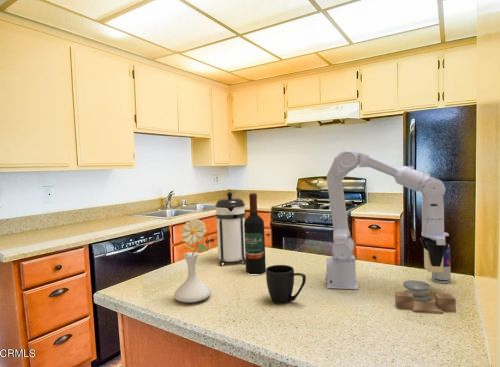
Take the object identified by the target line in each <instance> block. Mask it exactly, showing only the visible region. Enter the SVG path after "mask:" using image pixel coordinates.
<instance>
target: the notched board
mask: <svg viewBox="0 0 500 367" xmlns="http://www.w3.org/2000/svg"><path fill="white" fill-rule="evenodd" d="M394 296H395V297H394V301H395V303H394V304H395V307H396V309H398V310H411V311H412V312H413V313H425V314H426V313H427V314H440V315H441V314H443V315H444V312H448V313H456V312H457V310H456V309H457V299H456V297H455V296H454V295H453V294H450V293H449V294H448V293H447V294H446V293H434V301H414V297H413V295H412V294H411V293H409V292H404V291H394Z"/></svg>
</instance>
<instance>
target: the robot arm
mask: <svg viewBox="0 0 500 367" xmlns="http://www.w3.org/2000/svg"><path fill="white" fill-rule="evenodd" d="M357 167H358V168H371V169H374V170H376V171H378V172H381V173H383V174H386V175H387V176H391V177H393V178H394V180H395V183H396V184H398V185H400V186H403V187H404V188H407V189H410V190H412V191H415V192H421V194H422V195H421V199H422V200H421V232H420V233H421V236H422V237H419V241H420V243H421V244H422V245H421V246H422V247H423V248H422V249H424V248H428V251H429V254H430V260H431V264H432V266H437V267H440V266H441V262H442V258H443V255H444V252H445V250H446V249H447V247H448V245H449V243H447V242H446V237H449V235H450V234H449V233H448V232H445V208H444V207H445V203H444V195H445V193H446V190H447V187H446V186H445V184H444V182H443V181H442V180H440V179H439V178H435V177H433V176H431V174H430V173H427V172H426V173H424V172H421V171H419V170H416V169H415V167H414V166H413V165H410V166H407V165H403V166H401V167H397V166H395V165H393V164H390V163H388V162H386V161H384V160H382V159H379V158H377V157H375V156H372V155H370V154H367V153H363V152H359V151H357V152H356V151H354V150H353V149H344V150H341V151H340V152H339V153H338V154H337V155H336V156H335V157H334V159H333V162H332V164H331V166H330V167H329V169H328V172H327V174H326V183H327V191H328V198H329V199H328V200H329V206H330V214H331V220H332V229H333V237H332V238H333V243H332V247H331V254H332V257H326V259H325V260H326V261H325V262H326V275H325V281H326V287H327V289H337V290H338V289H340V290H341V289H342V290H359V286H358V281H357V273H356V272H357V271H356V269H357V268H356V267H357V266H356V256H355V255H354V254H353V251H354V249H355V242H354V239H353V238H352V236H351V231H350V229H349V221H348V216H347V208H346V207H347V206H346V199H345V193H344V185H343V180H344V178H346V176H347V175H349V173H350V172H352V171H353V170H355V169H356V168H357Z"/></svg>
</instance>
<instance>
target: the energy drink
mask: <svg viewBox="0 0 500 367" xmlns="http://www.w3.org/2000/svg"><path fill="white" fill-rule="evenodd" d="M451 271H452V270H451V246H450V244H448V247H447V249H446V250H445V252H444V255H443V272H431V280H432V281H433V282H435V283H438V284H449V283H450V282H451V281H452V280H451V278H452V277H451V274H452V273H451Z"/></svg>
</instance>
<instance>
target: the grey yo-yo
mask: <svg viewBox="0 0 500 367" xmlns="http://www.w3.org/2000/svg"><path fill="white" fill-rule="evenodd" d="M402 284H403V288H405V289H407V290H404V291H403V292H409V293H411V294H412V295H413V297H414V301H423V302H429V301H430V300H431V294H429V293H428V291H430V290H431V285H430V284H429V283H427V282H424V281H420V280H406V281H403V283H402Z"/></svg>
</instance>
